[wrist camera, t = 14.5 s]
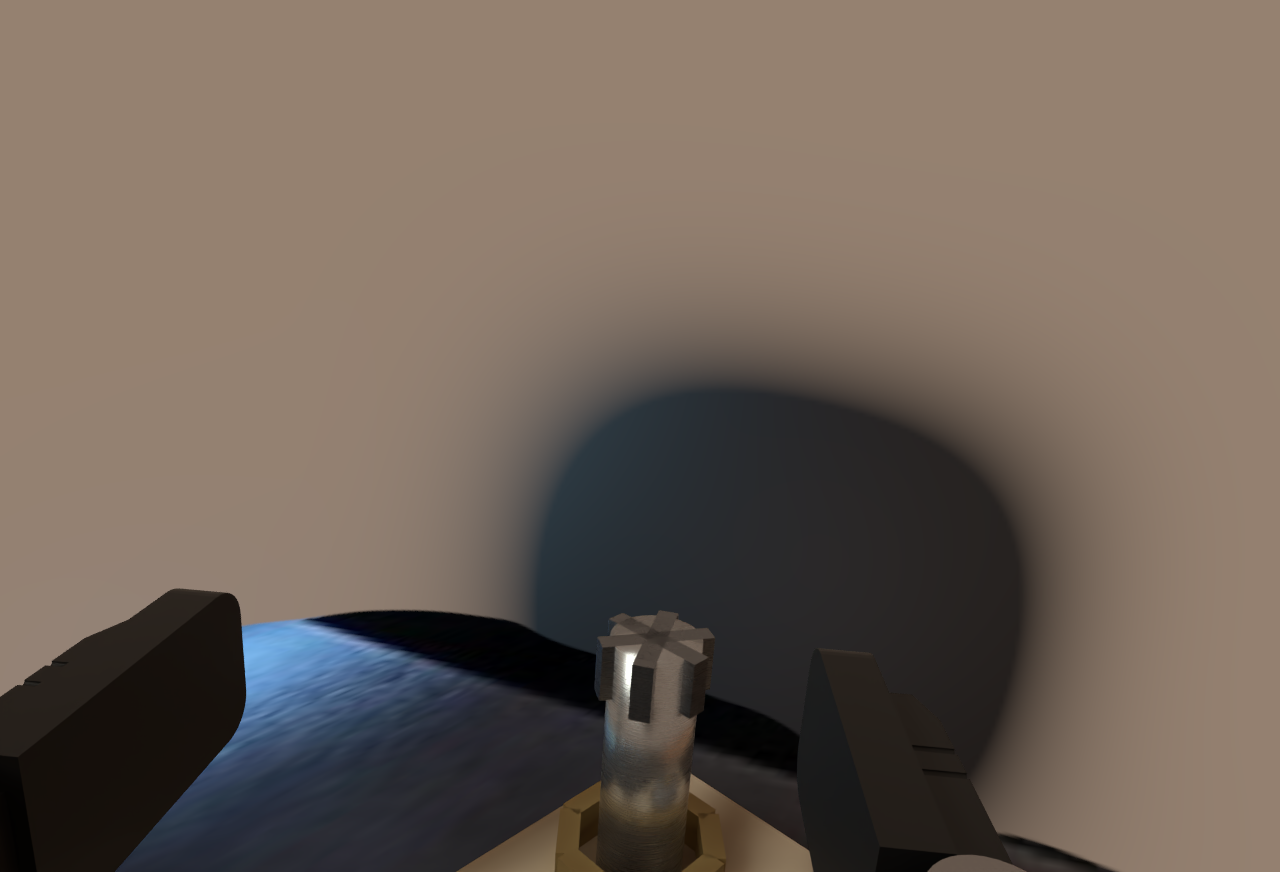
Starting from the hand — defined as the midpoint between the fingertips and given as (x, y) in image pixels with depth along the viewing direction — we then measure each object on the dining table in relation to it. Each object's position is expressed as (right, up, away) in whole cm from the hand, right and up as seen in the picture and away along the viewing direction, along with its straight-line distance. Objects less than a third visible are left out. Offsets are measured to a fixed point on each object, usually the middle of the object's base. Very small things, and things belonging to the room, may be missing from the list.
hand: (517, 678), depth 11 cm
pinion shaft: (+2, -17, +26) cm, 31 cm away
